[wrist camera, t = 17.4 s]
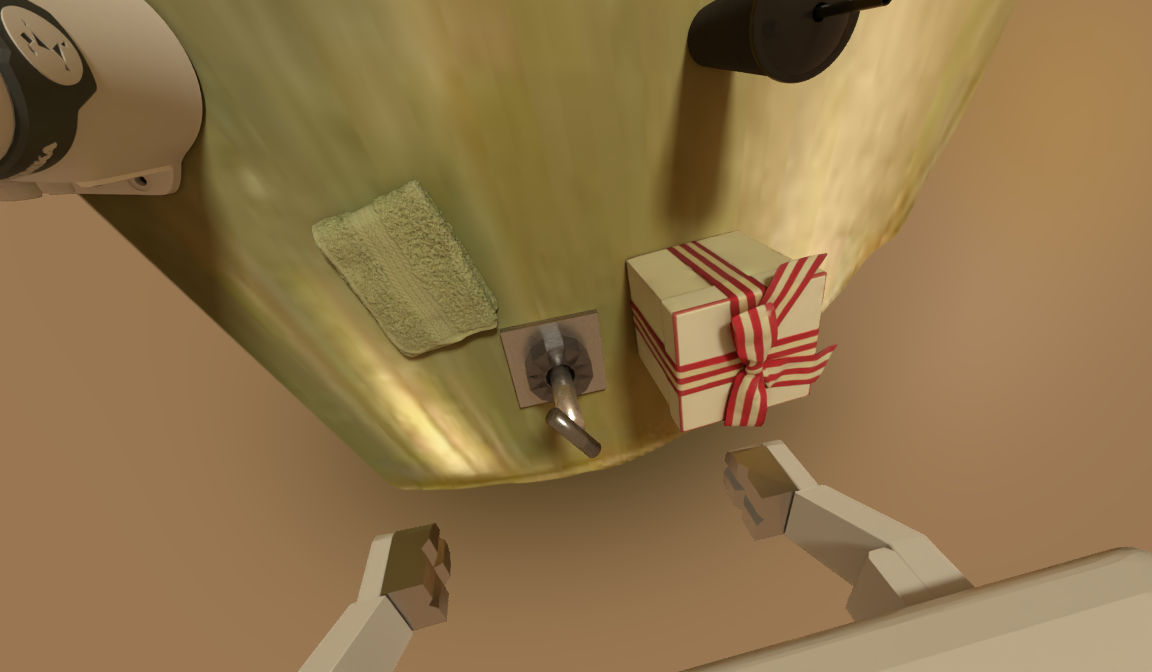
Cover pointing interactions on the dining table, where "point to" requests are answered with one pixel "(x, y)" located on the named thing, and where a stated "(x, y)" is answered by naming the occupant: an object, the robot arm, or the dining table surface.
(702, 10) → the drinking cup
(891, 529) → the robot arm
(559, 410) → the chuck key
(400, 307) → the washcloth
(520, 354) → the chuck socket
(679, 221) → the dining table surface
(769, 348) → the gift box
